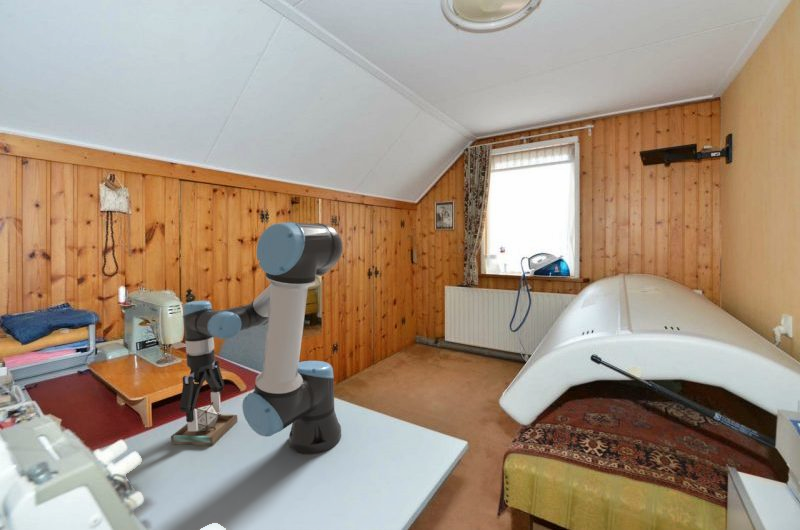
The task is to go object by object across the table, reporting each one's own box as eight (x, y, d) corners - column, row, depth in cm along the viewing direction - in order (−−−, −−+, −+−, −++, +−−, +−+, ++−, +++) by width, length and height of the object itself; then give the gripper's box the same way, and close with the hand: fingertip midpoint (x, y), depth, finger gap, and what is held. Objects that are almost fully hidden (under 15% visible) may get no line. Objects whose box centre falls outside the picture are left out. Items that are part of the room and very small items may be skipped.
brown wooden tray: (237, 421, 115) (237, 414, 115) (212, 445, 102) (212, 437, 102) (200, 420, 116) (199, 413, 116) (171, 443, 103) (170, 436, 103)
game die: (209, 443, 108) (212, 428, 102) (182, 435, 107) (182, 420, 101) (224, 416, 115) (227, 401, 110) (198, 408, 114) (200, 392, 108)
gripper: (212, 340, 119) (216, 402, 121) (159, 365, 96) (166, 441, 98) (233, 340, 118) (237, 403, 120) (185, 365, 95) (191, 442, 97)
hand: (205, 420), depth 109 cm, fingers open, 11 cm apart
